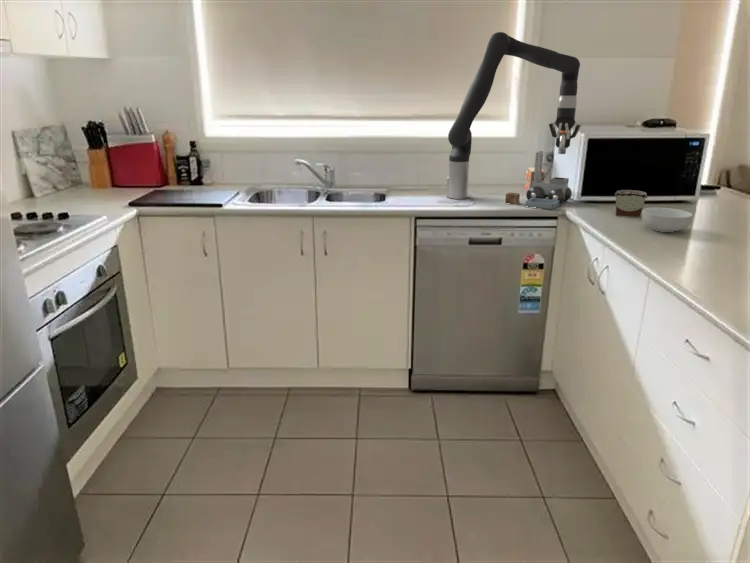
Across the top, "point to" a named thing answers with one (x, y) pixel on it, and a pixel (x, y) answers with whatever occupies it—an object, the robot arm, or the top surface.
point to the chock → (512, 198)
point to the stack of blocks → (531, 177)
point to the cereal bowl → (666, 219)
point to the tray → (542, 203)
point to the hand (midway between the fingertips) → (562, 147)
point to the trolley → (548, 185)
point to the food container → (629, 202)
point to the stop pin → (562, 142)
